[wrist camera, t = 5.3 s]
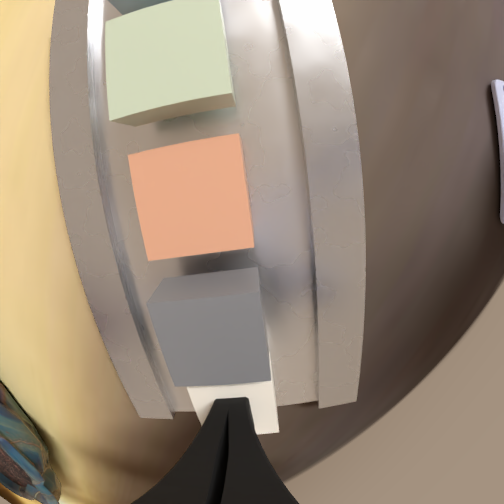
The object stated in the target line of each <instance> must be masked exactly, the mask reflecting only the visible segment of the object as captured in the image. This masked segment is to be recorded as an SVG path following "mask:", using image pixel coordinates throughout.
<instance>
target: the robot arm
mask: <svg viewBox="0 0 504 504" xmlns="http://www.w3.org/2000/svg"><path fill="white" fill-rule="evenodd" d="M491 89H492V94H493V100H494V106H495V112H496V120H497V128H498V138H499V150H500V169H501V205H500V220H501V222H502V224H504V81H501V80H493V81H492V82H491ZM131 504H299V503H298V502H297V501H296V499H295V498H294V497H293V496H292V494H291V493H290V492H289V491H288V489H287V488H286V486H285V485H284V484H283V482H282V481H281V479H280V478H279V476H278V475H277V473H276V472H275V470H274V469H273V467H272V465H271V463H270V462H269V460H268V458H267V456H266V454H265V452H264V450H263V448H262V446H261V444H260V442H259V439H258V437H257V434H256V431H255V426H254V421H253V416H252V412H251V407H250V402H249V398H247V397H237V398H220V399H216V400H214V403H213V405H212V407H211V409H210V412H209V414H208V416H207V418H206V419H205V421H204V423H203V425H202V427H201V429H200V430H199V432H198V434H197V435H196V437H195V439H194V440H193V442H192V443H191V445H190V446H189V448H188V449H187V451H186V452H185V453H184V455H183V456H182V457H181V458H180V460H179V461H178V462H177V463H176V465H175V466H174V467H173V468H172V469H171V470H170V471H169V472H168V473H167V474H166V475H165V476H164V478H162V479H161V480H160V481H159V482H158V483H157V484H156V485H155V486H154V487H152V488H151V489H150V490H149V491H148V492H146V493H145V494H144V495H143V496H141V497H140V498H139V499H137V500H136V501H134V502H133V503H131Z"/></svg>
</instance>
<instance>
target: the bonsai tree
mask: <svg viewBox="0 0 504 504" xmlns="http://www.w3.org/2000/svg"><path fill="white" fill-rule="evenodd" d="M0 483H1V484H2V485H4V486H5V487H6V488H8V489H9V490H11V491H12V492H14V493H15V494H17V495H19V496H21V497H24V498H26V499H29V500H34V499H36V500H37V501H39V502H41V503H42V504H59V502H58V501H59V498H60V495H61V483H60V481H59V480H58V478H57V476H56V474H55V472H54V471H53V469H52V468H51V465H50V463H49V455H48V448H47V446H46V445H45V443H44V441H43V440H42V438H41V437H40V435H39V433H38V432H37V430H36V428H35V427H34V425H33V423H32V422H31V421H30V419H29V418H28V417H27V416H26V415H25V413H24V412H23V411H22V410H21V408H20V407H19V406H18V405H17V403H16V402H15V401H14V399H13V398H12V397H11V395H10V394H9V393H8V391H7V390H6V388H5V387H4V386H3V385H2V384H1V383H0Z"/></svg>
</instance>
